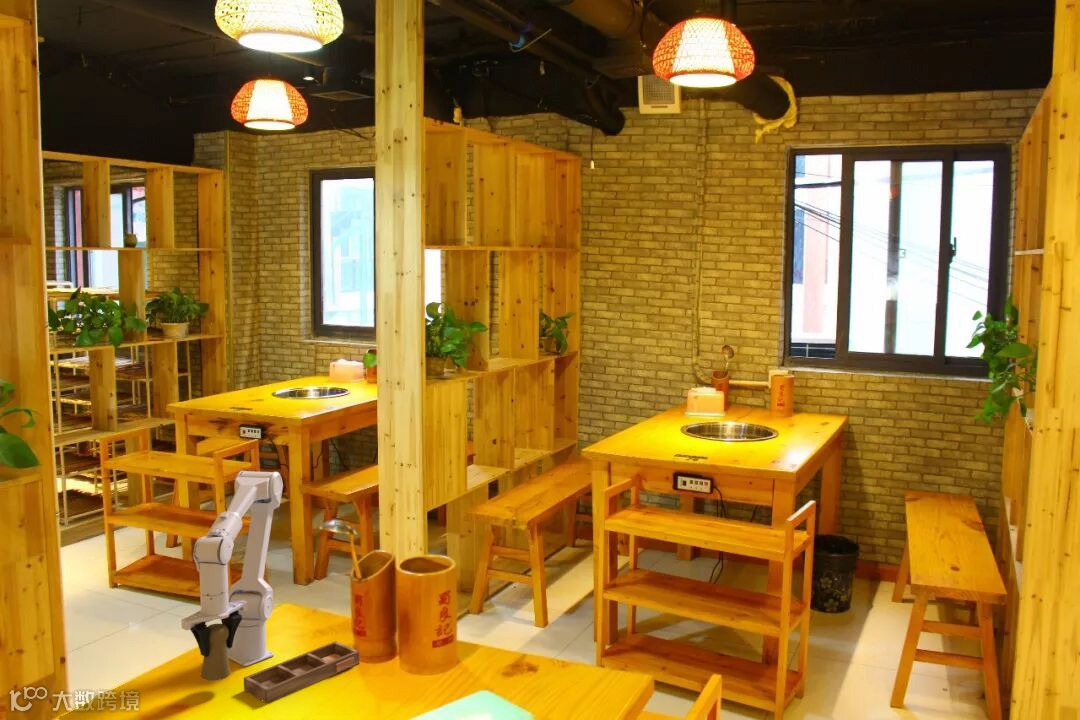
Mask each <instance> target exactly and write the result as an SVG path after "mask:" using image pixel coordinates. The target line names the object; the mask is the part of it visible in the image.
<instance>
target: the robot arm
mask: <svg viewBox="0 0 1080 720" xmlns="http://www.w3.org/2000/svg"><path fill="white" fill-rule="evenodd" d="M282 478H283V477H282V476H281V474H280V472H278V471H272V472H271V471H251V470H250V471H247V470H240V471H238V474H236V477H235V480H234V495H233V497H232V499H231V501H230V504H229V506H228V507H227V510H226V511H223V512H221V513H219V514H218V516H217V518H216V519H215V521H214V522H213V523H212V526H211V527H210V529H209V530H208V532H207V534H206V535H205V536H202V537H200V538H198V539H197V540H196V542H195V544H194V548H193V553H192V556H193V560H194V563H195V565H196V571H197V572H198V573H199V592H200V597H199V598H200V610H198V611H197V612H195V613H193V614H191V615H189V616H187V617H185V618H182V619H181V620H180V622H181V629H183V630H184V631H190V632H191V633H192V635H193V637H194V638H195V641H196V643H197V646H198V649H199V652H200V655H201V656H203V657H204V656H205V657H207V656H209V636H210V631H211V629H210V628H208V627H207V626H208V624H206V623H209V622H212V621H214V620H218V619H220V621H221V624H224V625H226V626H227V627H228V629H229V635H228V638H227V639H226V643H227V651H228V659H229V660H231V661H233V662H235V663H238V664H239V665H241V666H243V667H249V666H250V665H254V664H256V663H259V662H261V661H264V660H266V659H268V658H271V657H274V655H275V653H274V652H272V651H270V650H268V649H267V632H266V631H267V629H266V626H267V625H266V621H268V620H269V619H270V617H271V616H272V613H273V610H274V597H273V596H274V590H273V588H272V587H271V585H269V584H268V583H267V581H266V580H264V577H265V576H264V575H265V569H266V562H267V556H268V555H267V554H268V551H269V550H268V549H269V542H270V535H271V528H272V522H273V516H274V510H276V509H278V508H279V507H280V506H281V500H282V494H283V488H284V484H283V483H284V482H283V479H282ZM249 509H250V512H251V515H250V521H249V527H248V528H249V529H248V534H247V541H246V545H245V546H246V547H245V555H244V559H243V566H242V572H241V577H240V579H238V580H237V581H236V582H234V583H232V584H231V585H230V586H229V572H228V567H229V566H228V563H229V561H230V560H231V558H232V555H233V548H234V546H235V543H234V541H235V539H236V538H237V537H238V534H239V533H240V531H241V529H242V528H243V521H242V518H243V517H244V515H245V514H246V512H247V511H248V510H249ZM229 587H230V588H229ZM253 592H254V593H253ZM257 592H258V593H257Z"/></svg>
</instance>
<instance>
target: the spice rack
mask: <svg viewBox="0 0 1080 720" xmlns="http://www.w3.org/2000/svg"><path fill="white" fill-rule="evenodd" d="M358 663H359V664H360V651H358V650H357V649H355V648H353V647H350V646H347V645H346V644H343V643H341V642H339V641H333V642H330V643H328V644H325V645H321V646H320V647H318V648H315V649H312V650H310V651H307V652H305V653H302V654H299V655H298V656H295V657H291V658H290V659H286V660H284V661H282V662H280V663H277V664H275V665H272V666H270V667H267V668H263V669H262V670H259V671H257V672H255V673H252V674H250V675H247V676H245V677H243V691H244V692H246V693H247V692H248V693H247V694H249V693H250V694H249V695H251V694H252V695H251V696H253V697H255V698H256V699H258V698H259V699H258V700H260V701H262V700H263V701H262V702H264V701H265V702H264V703H266V704H267V703H268V704H270V703H271V702H272V703H273V702H274V700H275V701H277V700H279V699H281V698H283V697H286V696H288V695H290V694H293V693H295V692H298V691H300V690H302V689H304V687H305V688H306V686H307V687H309V686H311V684H312V685H313V684H316V683H318V682H321V681H323V680H325V679H327V678H329V677H332V676H335V675H337V674H339V673H341V671H342V672H344V671H346V670H348V669H347V668H349V667H351V666H353V667H355V666H357V665H356V664H358ZM359 664H358V665H359ZM354 665H355V666H354ZM351 668H352V667H351ZM345 669H346V670H345ZM349 669H350V668H349ZM343 670H344V671H343ZM338 672H339V673H338ZM334 674H335V675H334ZM322 679H323V680H322ZM320 680H321V681H320ZM269 702H270V703H269Z"/></svg>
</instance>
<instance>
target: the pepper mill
mask: <svg viewBox="0 0 1080 720" xmlns="http://www.w3.org/2000/svg"><path fill="white" fill-rule="evenodd" d="M207 627H208V628H210V629H211V631H210V636H209V656H207V657H205V656H203V660H202V667H201V675H200V677H201V678H202V679H203V680H205V681H210V682H211V681H212V682H213V681H219V680H223V679H226V678H228V677H229V676H230V675H231V668H230V659H229V658H228V651H227V643H226V639H227V638H228V635H229V629H228V627H227V626H226V625H224V624H222V623H212V624H210V625H207Z"/></svg>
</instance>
